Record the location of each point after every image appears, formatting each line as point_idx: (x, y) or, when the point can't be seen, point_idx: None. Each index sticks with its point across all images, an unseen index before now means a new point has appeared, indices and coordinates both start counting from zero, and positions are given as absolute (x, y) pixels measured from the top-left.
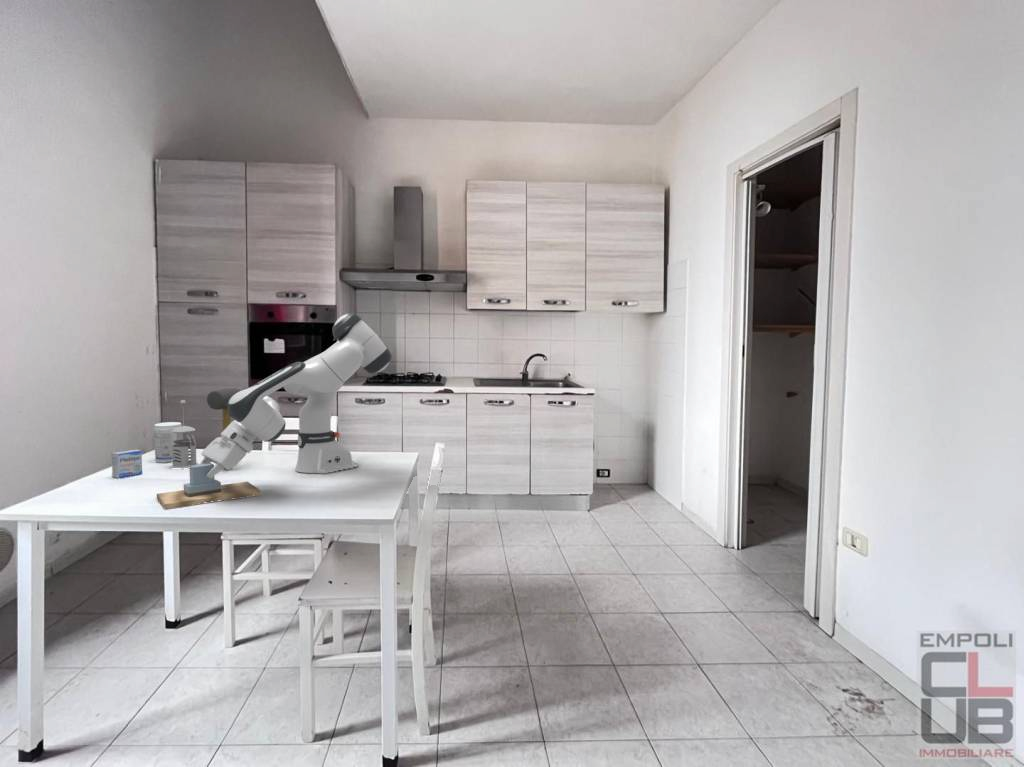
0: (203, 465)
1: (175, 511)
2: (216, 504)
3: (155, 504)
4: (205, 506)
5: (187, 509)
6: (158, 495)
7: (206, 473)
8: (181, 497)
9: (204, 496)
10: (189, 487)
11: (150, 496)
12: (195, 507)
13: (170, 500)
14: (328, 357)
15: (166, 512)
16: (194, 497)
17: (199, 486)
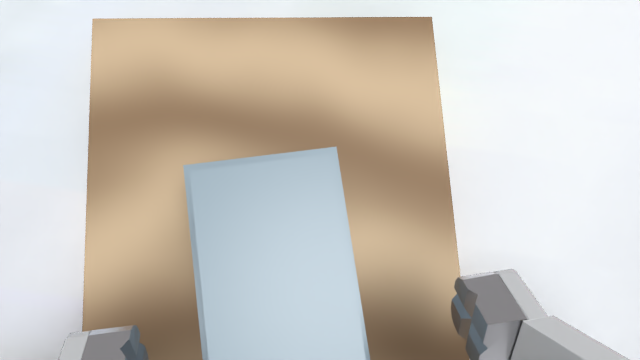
0: (248, 328)
1: (12, 80)
2: (15, 349)
3: (277, 9)
4: (10, 268)
5: (12, 151)
6: (376, 20)
7: (124, 334)
8: (223, 136)
9: (150, 286)
10: (185, 172)
11: (502, 13)
12: (30, 204)
13: (179, 62)
14: None
15: (26, 33)
16: (166, 215)
17: (194, 257)
